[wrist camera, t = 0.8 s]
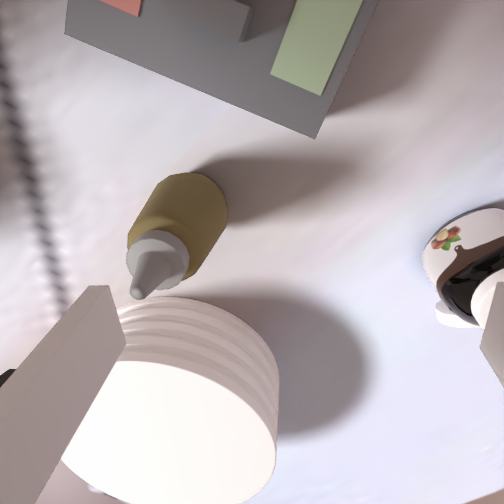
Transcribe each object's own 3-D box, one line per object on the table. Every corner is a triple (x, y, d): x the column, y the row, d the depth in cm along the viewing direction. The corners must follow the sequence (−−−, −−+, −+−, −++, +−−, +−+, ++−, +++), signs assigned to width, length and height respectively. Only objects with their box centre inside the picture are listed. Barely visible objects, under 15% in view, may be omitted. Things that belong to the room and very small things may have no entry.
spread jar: (493, 188, 38) (567, 241, 28) (544, 264, 41) (626, 335, 31) (389, 255, 43) (419, 320, 32) (441, 318, 46) (484, 395, 36)
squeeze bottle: (232, 163, 39) (191, 242, 23) (234, 233, 43) (200, 341, 27) (156, 161, 40) (67, 237, 24) (165, 230, 44) (93, 335, 28)
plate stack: (61, 300, 51) (3, 363, 41) (269, 290, 47) (262, 358, 37) (120, 436, 64) (87, 509, 54) (286, 438, 60) (285, 517, 50)
